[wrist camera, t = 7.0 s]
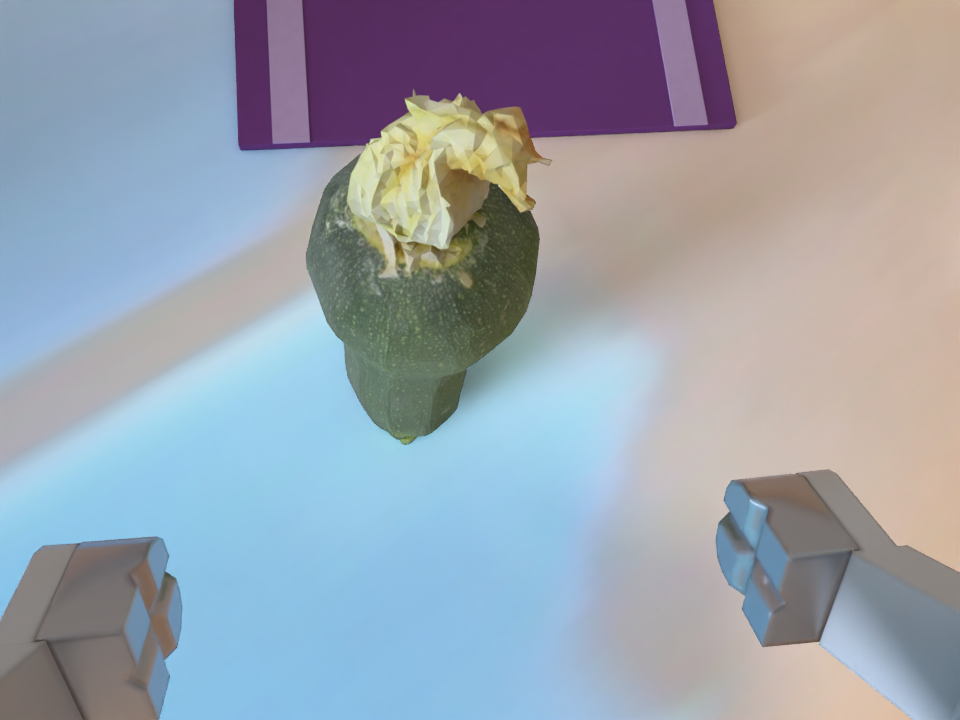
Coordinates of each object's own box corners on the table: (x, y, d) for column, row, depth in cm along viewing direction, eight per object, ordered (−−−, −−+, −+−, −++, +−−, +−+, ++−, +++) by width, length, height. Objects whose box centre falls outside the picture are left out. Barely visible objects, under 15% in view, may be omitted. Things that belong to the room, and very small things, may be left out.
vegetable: (337, 363, 27) (162, -63, 8) (443, 314, 28) (519, -178, 9) (388, 472, 27) (334, 296, 7) (496, 420, 27) (706, 134, 8)
